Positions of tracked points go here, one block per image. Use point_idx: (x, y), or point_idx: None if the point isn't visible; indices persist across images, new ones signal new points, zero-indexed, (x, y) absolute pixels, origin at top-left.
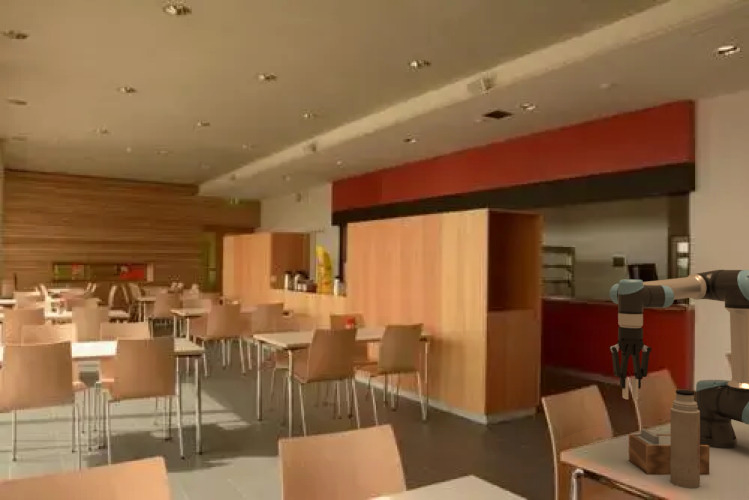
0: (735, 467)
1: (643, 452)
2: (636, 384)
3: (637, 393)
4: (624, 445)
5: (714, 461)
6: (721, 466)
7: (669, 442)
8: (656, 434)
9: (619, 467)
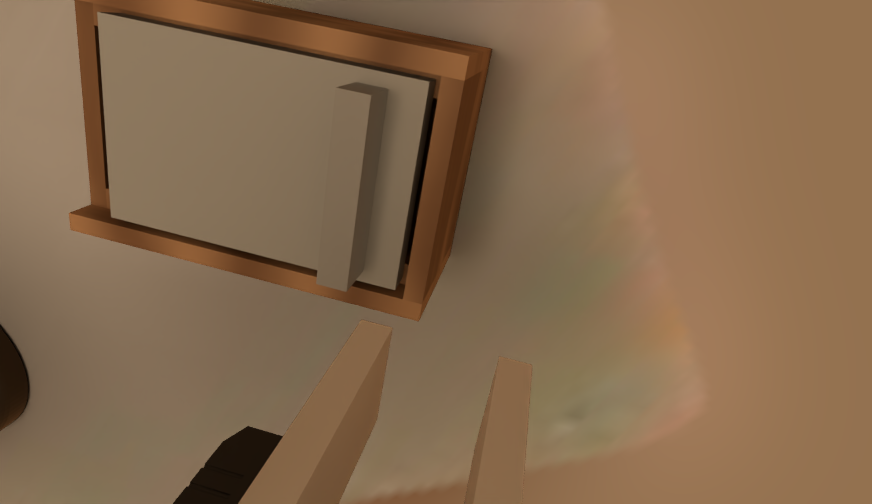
0: (2, 56)
1: (467, 108)
2: (296, 483)
3: (342, 369)
4: None
5: (56, 153)
6: (57, 83)
7: (259, 106)
8: (249, 271)
9: (564, 185)
